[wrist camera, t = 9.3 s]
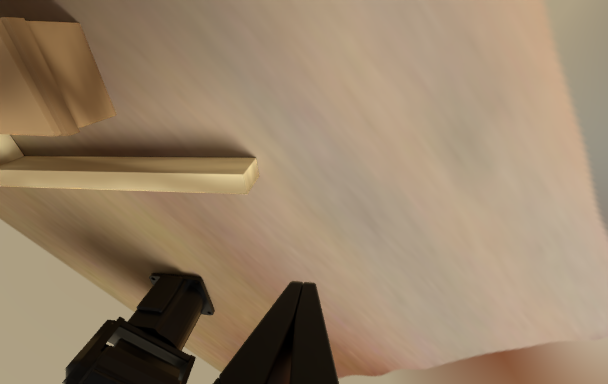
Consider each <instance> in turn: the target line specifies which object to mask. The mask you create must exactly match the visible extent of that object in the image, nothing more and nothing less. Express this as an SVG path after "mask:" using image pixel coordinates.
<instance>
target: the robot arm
mask: <svg viewBox="0 0 608 384" xmlns="http://www.w3.org/2000/svg"><path fill="white" fill-rule="evenodd" d="M149 278H150V280H151V282H152V284H153V287H152V288H151V289H150V291H149V292H148V293H147V294H146V296H145V297H144V298H143V299H142V301H141V302H140V303H139V305H138V306H137V310H136V311H135V313H134V314H133V315H132V317H131V318H130V319H129V321H128V322H126V321H125V319H123V318H122V317H119V318H118V319H117V321H115V320H107V321H106V322H105V323H104V324H103V326H102V327H101V328H100V329H99V330H98V331H97V333H96V334H95V335H94V336H93V337H92V338H91V340H90V341H89V342H88V343H87V344H86V345H85V347H84V348H83V349H82V350H81V351H80V352H79V353H78V354H77V356H76V357H75V358H74V359H73V360H72V361H71V362H70V364H69V365H68V366H67V367H66V379H65V380H64V381H63V382H62V383H63V384H186V383H187V380H188V377H189V375H190V372H191V369H192V367H193V364H194V361H195V357H194V356H192V355H188V354H186V353H184V352H182V349H183V347H184V345H185V343H186V341H187V340H188V338H189V336H190V334H191V332H192V330H193V328H194V326H195V325H196V323H197V321H198V319H199V317H200V315H201V314H204V315H213V314H214V312H215V310H214V308H213V305H212V303H211V300H210V297H209V295H208V292H207V290H206V287H205V285H204V282H203V280H202V279H201V278H199V277H191V276H180V275H169V274H158V273H152V274H151V275H150V277H149ZM107 341H108V342H110V343H112V344H114V346H109V345H107V344H106V343H107ZM219 378H220V379H219ZM219 378H217V379H216V380H215V382H214V383H213V384H339V381H338V377H337V373H336V369H335V364H334V360H333V356H332V351H331V347H330V343H329V338H328V334H327V330H326V325H325V321H324V317H323V313H322V308H321V304H320V300H319V295H318V291H317V287H316V284H315V283H311V282H304V284H303V282H299V281H292V282H290V283H289V285H288V286H287V287H286V289H285V290H284V291H283V293H282V294H281V295H280V297H279V298H278V299H277V300H276V302H275V303H274V304H273V306H272V307H271V308H270V310H269V311H268V312H267V314H266V315H265V316H264V318H263V319H262V320H261V321H260V323H259V324H258V325H257V327H256V328H255V329H254V331H253V332H252V333H251V335H250V336H249V337H248V339H247V340H246V341H245V342H244V344H243V345H242V346H241V348H240V349H239V350H238V352H237V353H236V354H235V356H234V357H233V358H232V360H231V361H230V362H229V364H228V365H227V366H226V367H225V369H224V370H223V371H222V373H221V374H220V376H219Z"/></svg>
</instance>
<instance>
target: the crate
mask: <svg viewBox="0 0 608 384" xmlns="http://www.w3.org/2000/svg"><path fill="white" fill-rule="evenodd" d="M115 115H116V112H115V110H114V107H113V105H112V102H111V100H110V97H109V95H108V92H107V90H106V87H105V85H104V83H103V80H102V78H101V75H100V73H99V70H98V68H97V65H96V63H95V60H94V58H93V55H92V53H91V50H90V48H89V45H88V43H87V40H86V38H85V35H84V33H83V30H82V28H81V25H80V23H70V22H44V21H25V19H24V18H14V17H0V134H8V135H35V136H70V135H73V134H75V133H78V132H80V131H79V129H78V128H81V127H84V126H87V125H90V124H92V123H95V122H98V121H101V120H104V119H107V118H110V117H113V116H115Z"/></svg>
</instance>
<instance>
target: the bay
mask: <svg viewBox="0 0 608 384" xmlns="http://www.w3.org/2000/svg"><path fill="white" fill-rule="evenodd" d="M258 177H259V172H258V166H257V161H256V158H215V157H79V156H24V155H23V153H22V152H21V151H20V149H19V148H18V146H17V145H16V143H15V142H14V140H13V139H12V137H11V136H10V135H8V134H0V187H1V186H7V187H38V188H69V189H100V190H131V191H162V192H193V193H224V194H248V192H249V191H250V189H251V188H252V186H253V185H254V183H255V182H256V180H257V179H258Z"/></svg>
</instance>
